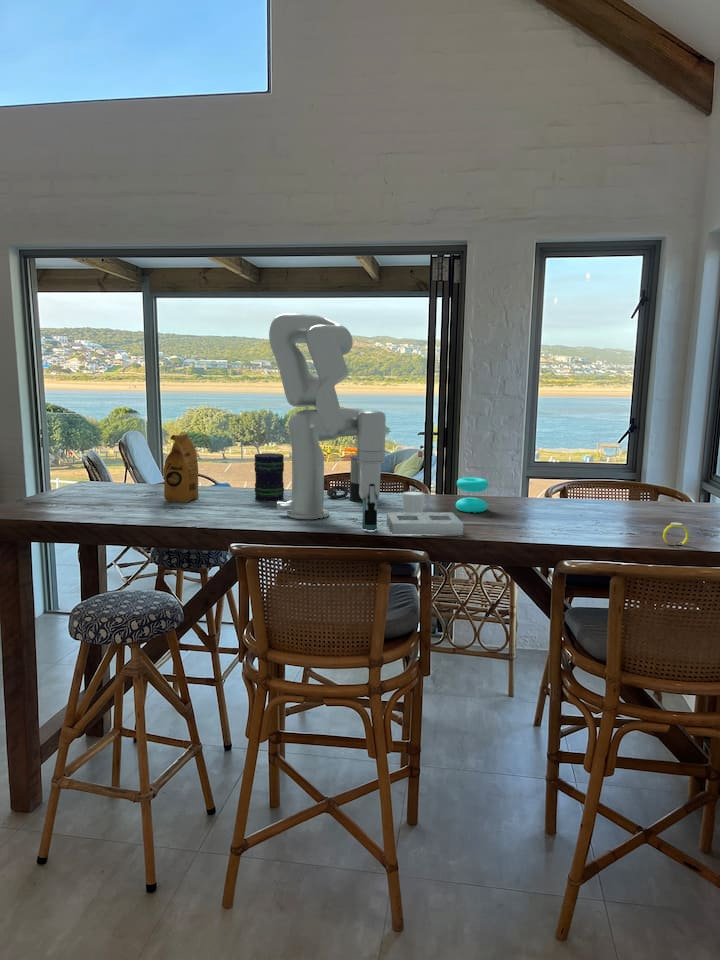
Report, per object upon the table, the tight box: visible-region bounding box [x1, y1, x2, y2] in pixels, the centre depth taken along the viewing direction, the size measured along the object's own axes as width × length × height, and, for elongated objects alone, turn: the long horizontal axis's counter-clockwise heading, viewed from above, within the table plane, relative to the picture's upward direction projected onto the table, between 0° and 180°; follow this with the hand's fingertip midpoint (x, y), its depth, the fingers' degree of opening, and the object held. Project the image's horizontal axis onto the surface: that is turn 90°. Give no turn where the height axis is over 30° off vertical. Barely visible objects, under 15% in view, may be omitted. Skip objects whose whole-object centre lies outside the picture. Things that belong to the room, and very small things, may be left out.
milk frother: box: [326, 455, 363, 503], centre depth 229 cm, size 14×16×15 cm
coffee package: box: [163, 431, 200, 503], centre depth 222 cm, size 10×12×22 cm
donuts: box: [455, 476, 489, 514], centre depth 214 cm, size 10×10×10 cm
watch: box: [662, 522, 690, 545], centre depth 174 cm, size 6×3×6 cm, turn 82°
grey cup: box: [402, 490, 426, 512], centre depth 204 cm, size 7×7×7 cm
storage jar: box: [254, 452, 285, 503], centre depth 226 cm, size 10×10×15 cm
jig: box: [386, 511, 464, 536], centre depth 186 cm, size 19×14×4 cm
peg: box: [361, 495, 379, 530], centre depth 184 cm, size 4×4×10 cm
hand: (369, 522), depth 185 cm, fingers closed on peg, 3 cm apart
